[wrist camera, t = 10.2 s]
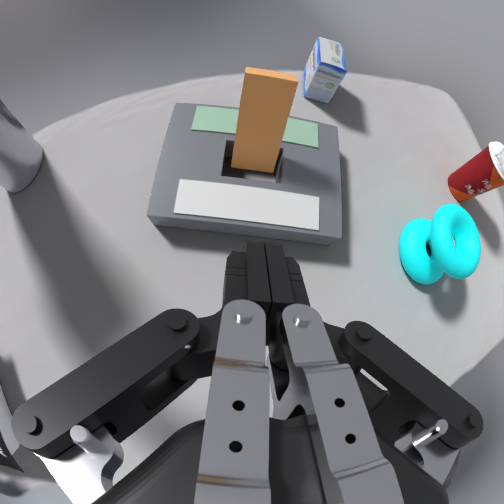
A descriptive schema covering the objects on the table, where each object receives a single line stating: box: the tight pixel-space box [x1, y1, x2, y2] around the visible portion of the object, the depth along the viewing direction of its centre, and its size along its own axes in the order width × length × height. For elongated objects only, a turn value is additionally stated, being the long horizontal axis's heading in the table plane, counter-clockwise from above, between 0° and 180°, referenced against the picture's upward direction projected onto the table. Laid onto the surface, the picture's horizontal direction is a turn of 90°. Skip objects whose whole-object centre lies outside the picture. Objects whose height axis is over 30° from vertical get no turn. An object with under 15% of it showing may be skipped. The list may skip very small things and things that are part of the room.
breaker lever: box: [231, 67, 298, 173], centre depth 27 cm, size 2×5×12 cm, turn 86°
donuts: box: [399, 204, 481, 284], centre depth 32 cm, size 10×10×10 cm
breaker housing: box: [147, 103, 342, 245], centre depth 33 cm, size 16×22×4 cm
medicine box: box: [304, 37, 347, 103], centre depth 36 cm, size 8×4×9 cm, turn 173°
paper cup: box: [448, 142, 504, 201], centre depth 34 cm, size 8×8×14 cm
